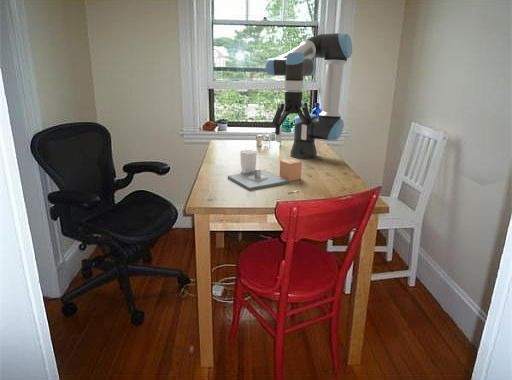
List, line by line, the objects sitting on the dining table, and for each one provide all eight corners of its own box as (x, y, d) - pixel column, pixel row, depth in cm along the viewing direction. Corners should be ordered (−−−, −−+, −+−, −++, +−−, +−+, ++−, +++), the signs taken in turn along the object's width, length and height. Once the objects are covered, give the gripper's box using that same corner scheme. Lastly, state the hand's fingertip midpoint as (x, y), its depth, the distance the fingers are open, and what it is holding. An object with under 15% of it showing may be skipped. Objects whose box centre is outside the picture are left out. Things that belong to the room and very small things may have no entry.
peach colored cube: (291, 175, 170) (292, 157, 168) (300, 178, 165) (301, 161, 162) (279, 177, 167) (280, 159, 164) (288, 181, 161) (289, 162, 158)
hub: (264, 172, 175) (264, 161, 173) (289, 183, 158) (289, 171, 157) (227, 178, 165) (227, 167, 163) (249, 190, 149) (249, 178, 147)
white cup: (242, 174, 171) (242, 153, 167) (238, 170, 178) (238, 150, 175) (258, 173, 173) (258, 152, 169) (254, 169, 180) (254, 149, 177)
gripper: (310, 90, 162) (308, 137, 169) (264, 91, 150) (263, 141, 157) (322, 91, 156) (318, 139, 163) (274, 92, 144) (272, 144, 151)
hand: (291, 140), depth 160 cm, fingers open, 13 cm apart
